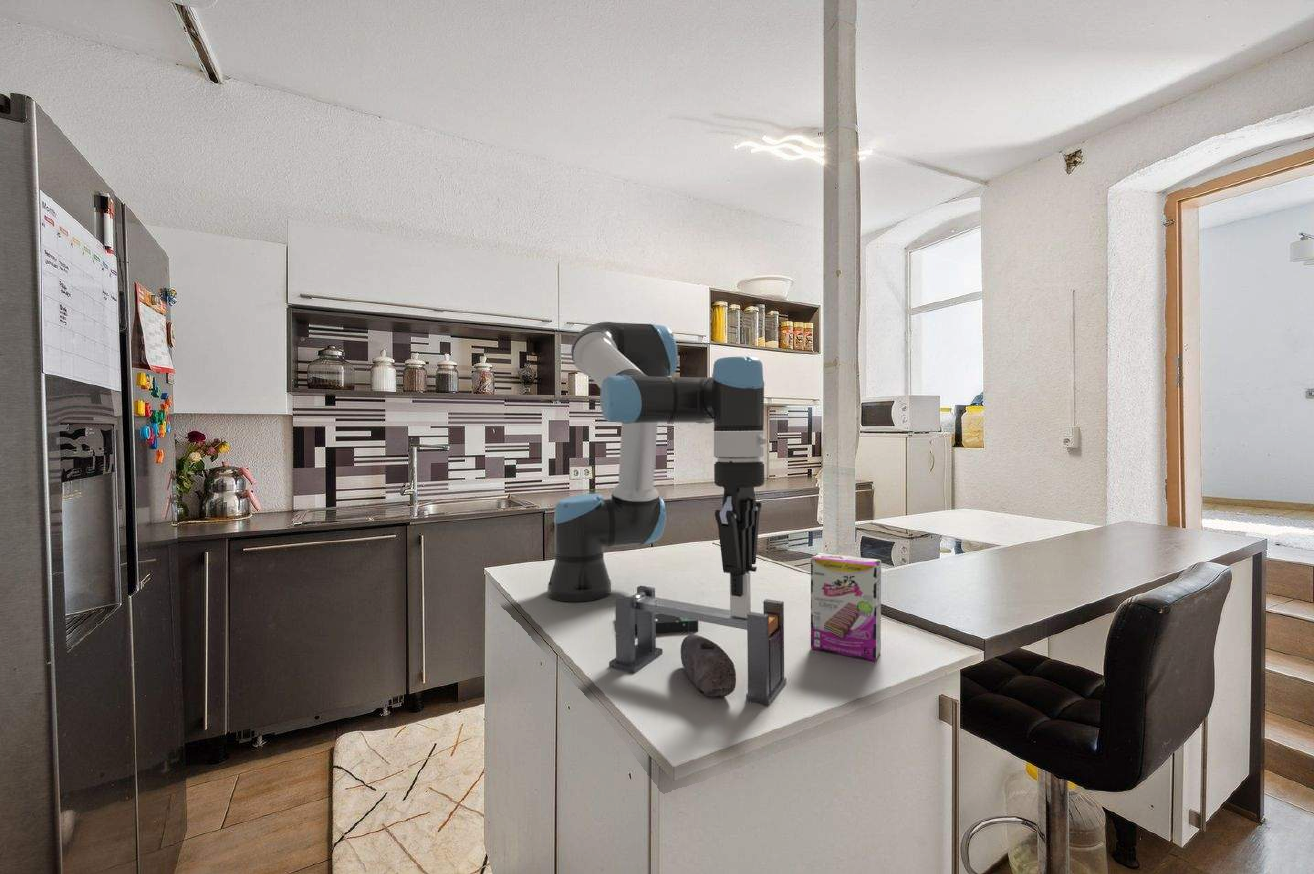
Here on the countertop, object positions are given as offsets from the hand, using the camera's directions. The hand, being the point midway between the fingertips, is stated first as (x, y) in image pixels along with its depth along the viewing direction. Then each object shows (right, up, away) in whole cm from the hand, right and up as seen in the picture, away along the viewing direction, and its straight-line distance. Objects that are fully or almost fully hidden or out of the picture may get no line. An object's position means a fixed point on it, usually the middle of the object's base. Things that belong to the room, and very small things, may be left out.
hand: (740, 615), depth 83 cm
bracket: (-16, -11, +10) cm, 22 cm away
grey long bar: (-6, -2, +4) cm, 8 cm away
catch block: (+4, -11, -2) cm, 12 cm away
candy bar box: (+20, -11, +13) cm, 26 cm away
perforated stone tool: (-6, -11, +1) cm, 13 cm away
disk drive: (-13, -11, +27) cm, 32 cm away
